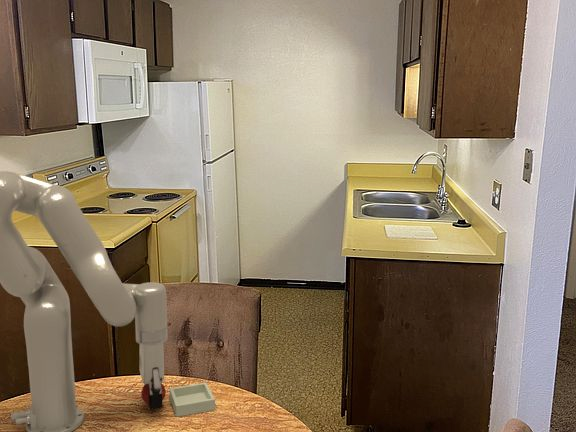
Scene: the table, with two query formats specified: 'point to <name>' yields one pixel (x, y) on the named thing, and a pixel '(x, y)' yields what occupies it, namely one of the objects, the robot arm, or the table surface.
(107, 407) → the table surface
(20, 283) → the robot arm
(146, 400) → the onion
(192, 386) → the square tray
